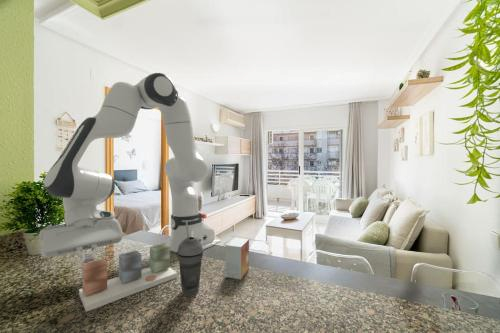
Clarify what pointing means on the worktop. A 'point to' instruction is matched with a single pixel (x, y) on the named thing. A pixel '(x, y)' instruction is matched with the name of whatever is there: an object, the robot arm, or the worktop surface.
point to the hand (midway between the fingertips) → (88, 261)
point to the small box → (236, 258)
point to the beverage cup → (190, 264)
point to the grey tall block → (129, 266)
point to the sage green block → (159, 257)
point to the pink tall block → (94, 276)
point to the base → (125, 287)
